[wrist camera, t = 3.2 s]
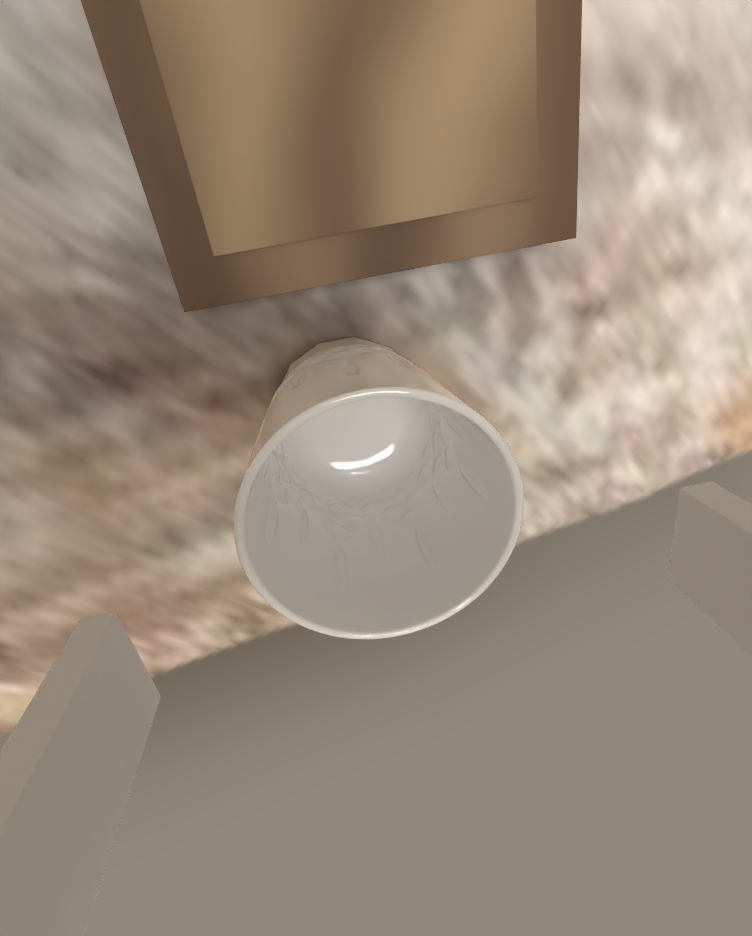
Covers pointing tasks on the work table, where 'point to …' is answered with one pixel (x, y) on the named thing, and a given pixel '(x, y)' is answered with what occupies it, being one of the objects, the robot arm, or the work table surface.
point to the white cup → (374, 496)
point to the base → (343, 133)
